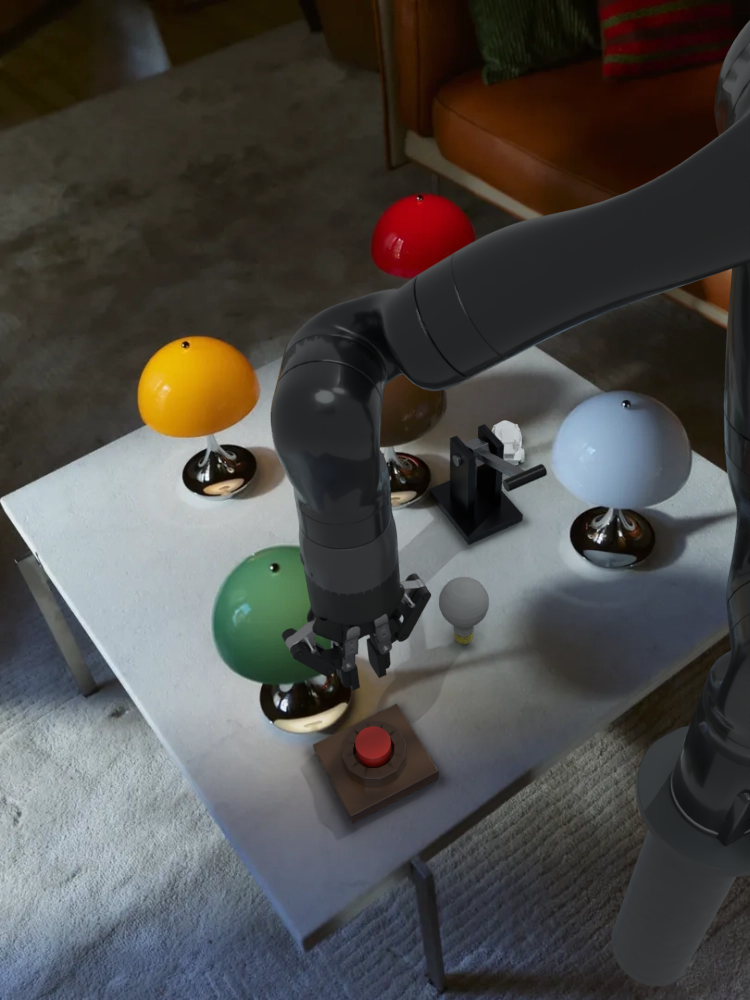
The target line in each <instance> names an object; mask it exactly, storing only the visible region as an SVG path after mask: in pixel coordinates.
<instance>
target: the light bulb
mask: <svg viewBox="0 0 750 1000" xmlns="http://www.w3.org/2000/svg"><path fill="white" fill-rule="evenodd" d="M487 591H488V590H486V588H485V586H484V585H483V584H482V583H481V582H480V581H479V580H477V579H475V578H474V577H473V578H472V577H469V576H459V577H454V578H452V579H450V580H449V581H447V583H445V585H444V586H443V587H442V589H441V590H440V593H439V596H438V606H439V611H440V613H441V616H442V617H443V618H444V620H446V622H448V623H449V624H450V625H452V628H453V632H454V636H453V637H454V640H455V641H456V643H458V644H459V645H469V643H471V642H472V641H473V639H474V635H473V634H474V627H475V626H476V625H479V624H480V623H481V622H482V621H483V620H484V619H485V618H486V615H487V613H488V610H489V606H490V597H489V593H488V592H487Z"/></svg>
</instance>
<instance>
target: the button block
mask: <svg viewBox="0 0 750 1000" xmlns="http://www.w3.org/2000/svg"><path fill="white" fill-rule="evenodd" d="M373 726H374V727H380V728H382V729H384V730H385V731H386V732H387V733H388V734H389V736H390V739H391V748H392V752H391V756H390V758H389V759H388V761H387V762H386V763H384V764H383V765H380V766H377V767H370V766H366V765H364V764H363V763H362V762H361V761H360V760H359V759H358V757H357V753H356V747H355V740H356V737H357V735H358V734H359V733H360V732H361V731H362V730H363V729H365V728H367V727H373ZM312 747H313V752H314V754H315V756H316V758H317V760H318V762H319V764H320V766H321V768H322V770H323V772H324V774H325V776H326V777H327V779H328V781H329V783H330V785H331V786H332V789H333V791H334V792H335V794H336V796H337V798H338V800H339V802H340V804H341V806H342V807H343V810H344V811H345V813H346V815H347V817H348V819H349V821H350V823H351V824H354V823H357V822H358V821H361V820H362V819H364V818H366V817H368V816H369V815H371V814H374V813H376V812H378V811H379V810H382V809H384V808H385V807H387V806H389V805H391V804H392V803H394V802H398V801H399V800H401V799H403V798H405V797H406V796H409V795H411V794H413V793H414V792H416V791H418V790H421V789H422V788H425V786H428V785H430V784H431V783H433V782H435V781H437V780H439V778H440V775H439V772H440V771H439V769H438V768H437V766H436V765H435V763H434V761H433V760H432V758H431V756H430V755H429V753H428V752H427V750H426V748H425V746H424V745H423V744H422V742H421V740H420V739H419V737H418V736H417V734H416V732H415V731H414V729H413V727H412V726H411V724H410V723H409V721H408V719H407V718H406V716H405V714H404V713H403V711H402V709H401V708H400V706H399V705H398V703H395V704H393V705H392V706H389V707H387V708H385V709H383V710H381V711H379V712H377V713H375V714H373V715H371V716H369V717H366V718H365V719H362V720H360V721H359V722H356V723H354V724H352V725H350V726H349V727H346V728H343V729H342V730H340V731H338V732H336V733H334V734H332V735H330V736H328V737H326V738H324V739H322V740H319V741H317V742H316V743H314V744H313V745H312Z"/></svg>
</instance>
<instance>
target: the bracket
mask: <svg viewBox="0 0 750 1000" xmlns="http://www.w3.org/2000/svg"><path fill="white" fill-rule="evenodd" d="M477 438H479V439H481V440H483V441H485V442H487V443H488V445H489V450H490V453H492V454H494V455H496V456H498V457H500V458H501V459H504V444H503V443H502V442H501V441H500V440H499V439H498V438H497V436H496V435H495V434H494V433H493V432H492V429H491V428H490V427H488V426H487V424H486V423H483V424H481V425H479V426H477ZM464 443H465V442H463V441H462V439H461V438H460V437H459V436H458V435H454V436H452V437H450V438H449V480H447V481H445V482H443V483H441V484H438V485H435V486H433V487H430V488H429V489H428V493H429V497H430V498H431V499H432V500H433V502H434V503H435V504H436V505H437V507H438V508H439V509H440V510H441V512H442V513H443V515H445V516H446V518H447V520H448V521H449V522H450V523H451V524H452V526H453V527H454V528H455V529H456V531H457V532H458V534H459V535H460V536H461V537H462V538H463V540H464V541H465V542H466V544H468V545H472V544H474V543H476V542H478V541H481V540H482V539H485V538H487V537H489V536H492V535H494V534H496V533H499V532H501V531H502V530H505V529H507V528H510V527H512V526H514V525H516V524H519V523H521V522H523V520H524V519H523V518H524V515H523V513H522V512H521V511H520V509H519V508H518V507H517V506H516V505H515V504H514V503H513V501H512V500H511V499H510V498H509V497H508V496H507V494H506V493H505V492H504V491H503V477H504V476H503V475H504V473H502V472H500V471H498V470H496V469H494V468H493V467H491V466H489V465H487V464H483V465H480V466H478V467H475V462H476V457H475V456H474V454H473V453H472V452H471V451H470V450H469V449H468V448H467V446H466V445H465V444H464Z"/></svg>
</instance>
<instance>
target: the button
mask: <svg viewBox="0 0 750 1000" xmlns="http://www.w3.org/2000/svg"><path fill="white" fill-rule="evenodd" d="M355 747H356V753H357V757H358V759H359V760H360V761H361V762H362V763H363V764H364V765H366V766H370V767H377V766H380V765H383V764H384V763H386V762H387V761H388V759H389V758H390V756H391V752H392V748H391V739H390V736H389V734H388V733H387V732H386V731H385V730H384V729H382V728H380V727H374V726H373V727H367V728H365V729H363V730H362V731H361V732H360V733H359V734H358V735H357V737H356V740H355Z"/></svg>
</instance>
